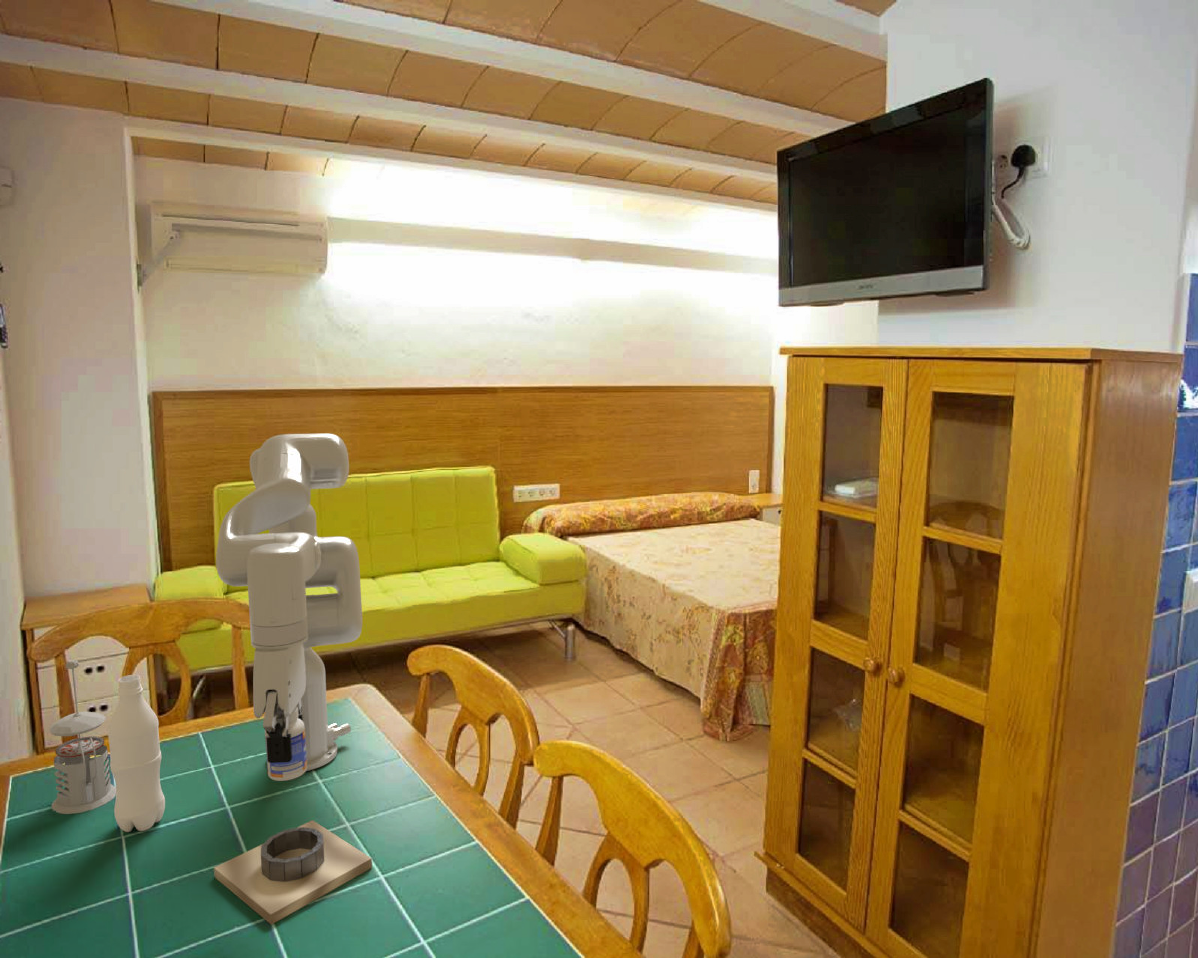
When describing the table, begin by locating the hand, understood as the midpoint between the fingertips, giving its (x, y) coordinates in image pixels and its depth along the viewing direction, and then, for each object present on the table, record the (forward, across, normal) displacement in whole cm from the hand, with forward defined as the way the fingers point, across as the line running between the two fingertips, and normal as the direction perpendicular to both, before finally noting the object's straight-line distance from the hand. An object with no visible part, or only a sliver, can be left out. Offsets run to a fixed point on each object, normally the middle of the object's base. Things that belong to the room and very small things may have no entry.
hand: (286, 749), depth 117 cm
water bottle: (+20, -15, -28) cm, 38 cm away
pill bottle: (+4, 0, 0) cm, 4 cm away
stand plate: (+19, 0, 0) cm, 19 cm away
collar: (+18, 0, 0) cm, 18 cm away
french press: (+20, -24, -41) cm, 51 cm away
